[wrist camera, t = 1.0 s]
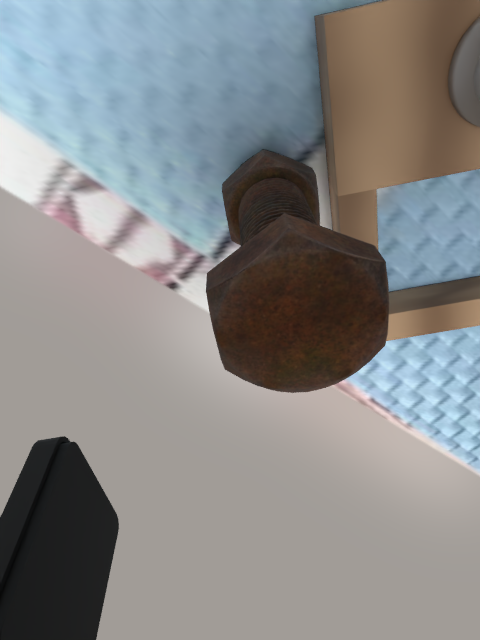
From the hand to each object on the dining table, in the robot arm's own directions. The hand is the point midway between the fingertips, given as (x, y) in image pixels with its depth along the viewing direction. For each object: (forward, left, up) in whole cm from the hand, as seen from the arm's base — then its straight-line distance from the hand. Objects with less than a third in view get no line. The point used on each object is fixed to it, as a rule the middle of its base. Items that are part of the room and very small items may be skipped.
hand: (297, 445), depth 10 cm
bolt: (-1, 0, -19) cm, 19 cm away
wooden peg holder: (-10, +2, -19) cm, 22 cm away
